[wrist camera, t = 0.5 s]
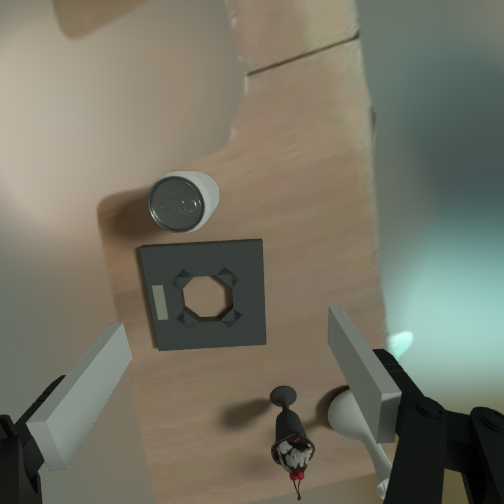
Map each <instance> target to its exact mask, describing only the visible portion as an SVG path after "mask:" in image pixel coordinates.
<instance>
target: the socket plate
mask: <svg viewBox="0 0 504 504" xmlns="http://www.w3.org/2000/svg"><path fill="white" fill-rule="evenodd" d="M139 249H140V254H141V259H142V265H143V270H144V275H145V281H146V286H147V291H148V296H149V302H150V307H151V312H152V318H153V323H154V328H155V333H156V339H157V344H158V349H159V351H167V350H184V349H200V348H217V347H233V346H250V345H266V322H265V295H264V268H263V241H262V239H245V240H226V241H208V242H190V243H172V244H153V245H143V246H141V247H140V248H139ZM215 275H216V276H217V277H218V278H219V279H221V280H222V281H223V282H224V283H226V284H227V285H228V286H230V287H231V288H232V294H233V304H232V305H231V306H230V307H229V308H228V309H227V310H226V312H225V313H224V314H223V315H222V316H215V317H200V316H198V315H197V314H196V313H194V312H193V311H192V310H190V309H189V308H188V307H186V306H185V301H184V294H183V288H184V287H185V286H186V285H187V284H188V282H189V281H190V280H191V279H192V278H193V277H197V276H215Z"/></svg>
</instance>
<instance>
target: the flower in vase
mask: <svg viewBox="0 0 504 504" xmlns="http://www.w3.org/2000/svg"><path fill="white" fill-rule="evenodd" d="M327 416H328V421H329V424H330V425H331V427H332V428H333V429H334V430H335V431H336V432H337V433H338V434H340V435H342V436H344V437H347V438H350V439H354V440H359V441H362V442H363V443H364V444H365V446H366V447H367V450H368V452H369V454H370V456H371V459H372V461H373V464H374V467H375V471H376V476H377V486H376V493H377V495H378V497H379V498H381V499H383V500H384V498H385V494H386V490H387V486H388V482H389V478H390V474H391V470H392V466H393V465H392V464H391V463H390V461H389V460H388V458H387V456H386V455H385V453H384V451H383V449H382V447H381V445H380V444H376V442H375V440H374V438H373V436H372V433H371V431H370V429H369V427H368V425H367V423H366V421H365V419H364V417H363V415H362V413H361V410H360V408H359V406H358V404H357V402H356V400H355V398H354V396H353V394H352V392H351V390H350V389H349V390H346V391H344V392H342V393H341V394H339V395H338V396H337V397H336V398H335V399H334V400H333V401H332V403H331V404H330V407H329V410H328V415H327Z"/></svg>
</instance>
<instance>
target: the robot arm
mask: <svg viewBox="0 0 504 504" xmlns="http://www.w3.org/2000/svg"><path fill="white" fill-rule="evenodd" d="M328 344H329V346H330V348H331V350H332V352H333V354H334V356H335V358H336V360H337V362H338V364H339V367H340V369H341V371H342V373H343V375H344V377H345V379H346V381H347V383H348V385H349V387H350V390H351V392H352V394H353V396H354V398H355V400H356V402H357V404H358V406H359V408H360V410H361V413H362V415H363V417H364V419H365V421H366V423H367V425H368V427H369V429H370V431H371V433H372V436H373V438H374V440H375V442H376V444H380V443H392V442H395V435H396V433H397V435H398V437H399V441H398V445H397V449H396V453H395V457H394V462H393V466H392V470H391V474H390V478H389V482H388V486H387V490H386V494H385V498H384V502H383V504H441V503H442V502H441V501H442V491H443V479H444V468H445V469H449V470H453V471H457V472H461V475H462V478H463V482H464V486H465V490H466V494H467V498H468V501H469V504H504V415H502V414H501V413H499V412H498V411H495V410H493V409H490V408H487V407H475V408H473V409H472V411H471V413H470V415H466V414H462V413H456V412H451V411H448V410H445V409H444V408H443V407H442V406H441V405H440V404H438V402H436V401H434V400H432V399H431V398H428V397H425V396H424V395H423V394H422V392H421V391H420V390H419V388H418V387H417V386H416V385H415V384H414V382H413V381H412V380H411V378H410V377H409V376H408V374H407V373H406V372H405V371H404V369H403V368H402V367H401V366H400V365H399V364H398V362H397V361H396V359H395V358H394V357H393V355H391V354H390V353H388V352H387V351H386V350H384V349H371V348H370V346H369V345H368V343H367V342H366V340H365V339H364V338H363V336H362V335H361V333H360V332H359V330H358V329H357V328H356V326H355V325H354V323H353V322H352V320H351V319H350V318H349V316H348V315H347V313H346V312H345V310H344V309H343V308H342V306H341V305H335V306H329V315H328ZM131 359H132V355H131V351H130V348H129V344H128V340H127V337H126V333H125V329H124V326H123V323H112V324H110V325H109V326H108V327H107V329H106V330H105V331H104V332H103V333H102V334H101V335H100V337H99V338H98V339H97V340H96V341H95V342H94V344H93V345H92V346H91V347H90V348H89V350H88V351H87V352H86V353H85V354H84V355H83V357H82V358H81V359H80V360H79V362H77V364H76V365H75V366H74V367H73V368H72V369H71V371H70V372H69V373H68V374H67V375H62V376H60V377H59V378H58V379H56V380H55V381H54V382H52V383H51V384H50V385H49V386H48V387H47V388H46V390H45V391H44V392H43V394H42V395H40V396H39V397H38V399H37V400H36V402H34V403H33V404H32V406H31V407H30V408H29V409H28V410H27V411H26V412H25V413H24V414H23V415H22V416H21V418H20V419H19V420H18V421H17V422H16V423H15V424H13V422H12V420H11V418H10V416H9V415H5V414H4V415H0V504H42V493H41V481H40V476H39V474H38V470H39V468H40V467H41V465H42V464H43V463H44V462H45V464H46V466H47V468H48V470H49V471H55V470H66V469H68V467H69V465H70V464H71V462H72V460H73V459H74V457H75V455H76V453H77V452H78V450H79V448H80V447H81V445H82V443H83V442H84V440H85V438H86V436H87V435H88V433H89V431H90V430H91V428H92V426H93V424H94V423H95V421H96V419H97V417H98V416H99V414H100V412H101V411H102V409H103V407H104V406H105V404H106V402H107V400H108V399H109V397H110V395H111V394H112V392H113V390H114V388H115V387H116V385H117V383H118V382H119V380H120V378H121V376H122V375H123V373H124V371H125V370H126V368H127V366H128V365H129V363H130V361H131Z"/></svg>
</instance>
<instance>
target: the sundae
mask: <svg viewBox="0 0 504 504" xmlns="http://www.w3.org/2000/svg"><path fill="white" fill-rule="evenodd" d="M296 397H297V395H296V392H295V390H294V389H293V388H291V387H288V386H281V387H278V388H276V389H274V390H273V392H272V393H271V401H272V402H273V403H274V404H275V405H276V406H279V407H282V409H283V411H282V412H281V413H280V414H279V415H278V416H277V419H276V442H275V444H273V445H272V448H271V454H272V457H273V460H274V461H275V462H276V463H277V464H280V465H282V467H283V468H284V469H285V470H286V471H287V472H289V473H290V478H291V480H293V482H294V481H295V480H297V479H299V484H300V480H302V479H303V478H304V471H305V470H306V469H307V467H308V462H309V461H310V460H311V458H312V457H313V454H314V452H315V446H314V444H313V443H312V442H311V441H310V440H309V439H308V438H307V436H306V434H305V431H304V428H303V426H302V423H301V421H300V419H299V417H298V415H297V414H296V413H295V412H293V411H291V410H289V405H291V404H293V403H294V401H295V400H296ZM299 484H298V491H297V488H296V485H295V482H294V486H295V489H296V491H297V493H299ZM300 499H301V497H300V494H298V500H300Z"/></svg>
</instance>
